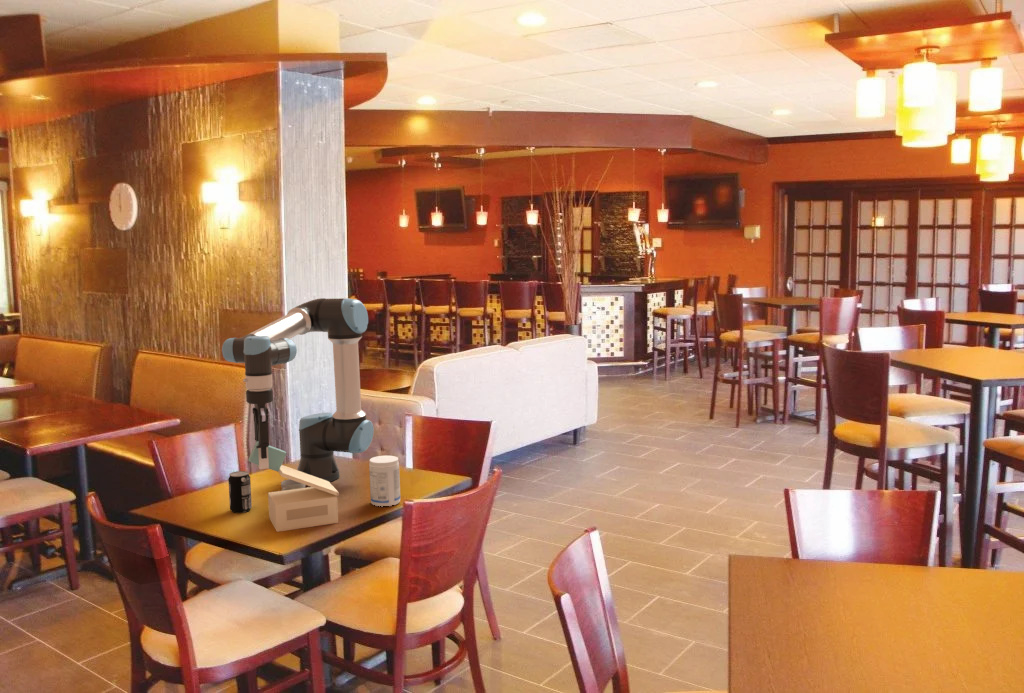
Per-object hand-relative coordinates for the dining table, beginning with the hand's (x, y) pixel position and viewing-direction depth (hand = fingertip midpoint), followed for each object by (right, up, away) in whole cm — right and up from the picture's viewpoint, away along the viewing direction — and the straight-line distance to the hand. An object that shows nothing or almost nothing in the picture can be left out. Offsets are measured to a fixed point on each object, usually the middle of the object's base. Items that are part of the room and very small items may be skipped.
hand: (263, 467), depth 249 cm
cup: (+4, -16, +18) cm, 25 cm away
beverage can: (-12, -16, +17) cm, 27 cm away
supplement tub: (+33, -15, +23) cm, 43 cm away
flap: (+8, -3, +4) cm, 9 cm away
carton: (+10, -17, +7) cm, 21 cm away
